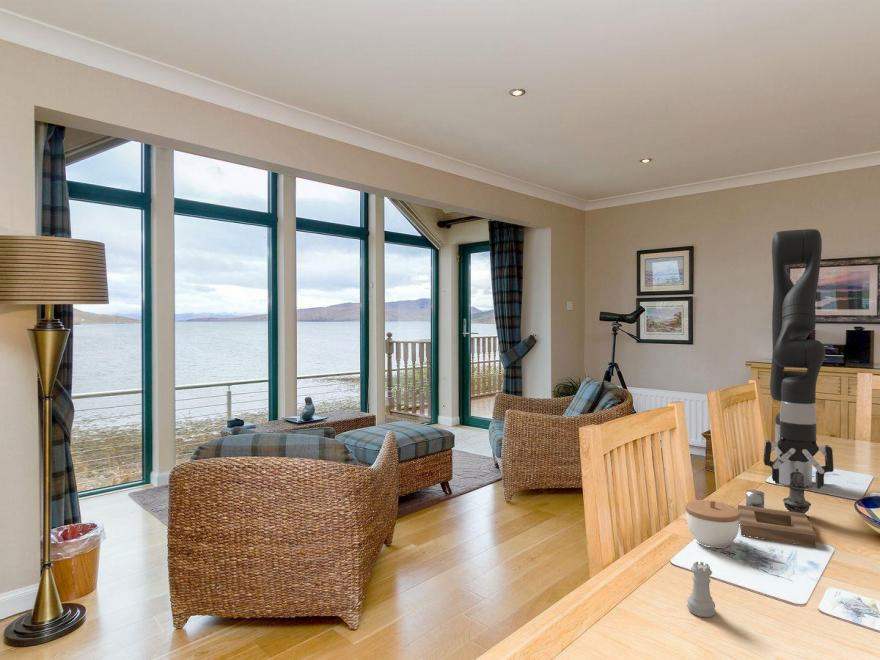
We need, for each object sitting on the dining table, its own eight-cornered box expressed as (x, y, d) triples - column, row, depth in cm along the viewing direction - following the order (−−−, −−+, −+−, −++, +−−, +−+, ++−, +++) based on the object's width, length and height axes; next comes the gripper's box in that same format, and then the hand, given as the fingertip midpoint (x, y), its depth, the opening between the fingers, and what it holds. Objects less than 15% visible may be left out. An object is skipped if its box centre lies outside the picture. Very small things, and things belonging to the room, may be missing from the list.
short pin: (745, 507, 139) (745, 488, 138) (763, 510, 137) (763, 491, 137) (746, 513, 135) (746, 493, 135) (765, 515, 133) (765, 496, 133)
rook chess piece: (681, 604, 93) (681, 559, 93) (706, 603, 94) (706, 558, 93) (695, 619, 89) (696, 572, 88) (721, 618, 89) (722, 570, 89)
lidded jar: (734, 536, 121) (735, 495, 121) (744, 556, 111) (745, 512, 111) (682, 530, 125) (683, 490, 125) (688, 549, 115) (688, 506, 114)
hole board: (737, 514, 134) (737, 504, 134) (804, 523, 128) (804, 513, 128) (741, 535, 122) (741, 524, 122) (815, 547, 115) (815, 535, 115)
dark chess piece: (815, 521, 129) (816, 472, 129) (788, 519, 131) (789, 471, 130) (804, 512, 135) (804, 465, 135) (778, 511, 136) (779, 464, 136)
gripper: (829, 420, 132) (829, 485, 132) (762, 415, 139) (762, 477, 139) (836, 425, 125) (835, 494, 126) (765, 420, 132) (765, 485, 132)
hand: (797, 485), depth 132 cm, fingers open, 8 cm apart
